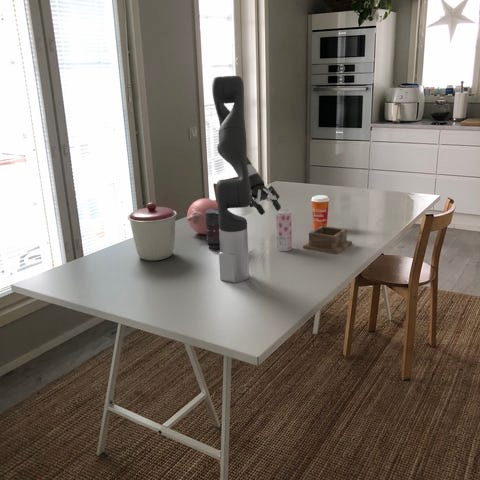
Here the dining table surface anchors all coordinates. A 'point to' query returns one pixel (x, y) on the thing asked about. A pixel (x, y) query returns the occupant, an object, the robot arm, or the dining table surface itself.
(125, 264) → the dining table surface
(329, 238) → the can socket
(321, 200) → the paper cup
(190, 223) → the pink piggy bank
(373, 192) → the dining table surface
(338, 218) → the dining table surface
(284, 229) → the beverage can
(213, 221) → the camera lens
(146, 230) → the canister
